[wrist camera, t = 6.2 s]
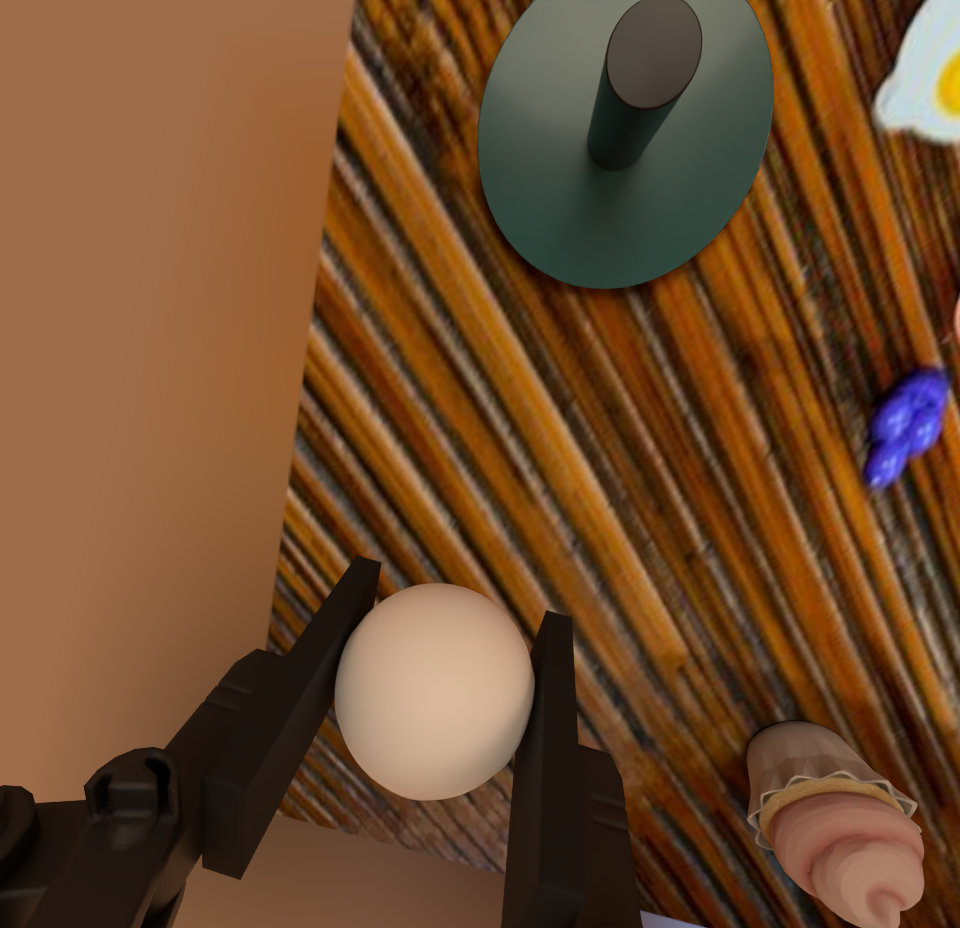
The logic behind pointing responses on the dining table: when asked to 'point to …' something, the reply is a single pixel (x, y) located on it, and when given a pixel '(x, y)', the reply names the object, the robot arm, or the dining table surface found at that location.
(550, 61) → the lid
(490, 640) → the beige ball
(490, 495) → the dining table surface
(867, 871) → the cupcake
